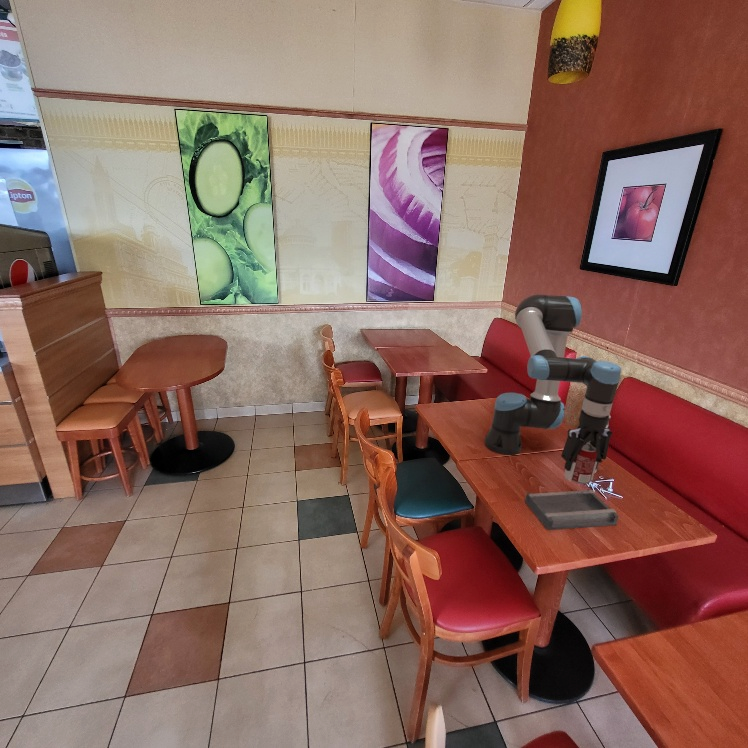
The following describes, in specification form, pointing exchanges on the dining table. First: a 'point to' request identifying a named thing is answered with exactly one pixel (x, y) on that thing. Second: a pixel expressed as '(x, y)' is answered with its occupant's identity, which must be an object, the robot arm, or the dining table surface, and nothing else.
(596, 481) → the dining table surface
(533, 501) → the tray
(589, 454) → the soda can
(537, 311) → the robot arm
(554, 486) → the dining table surface
